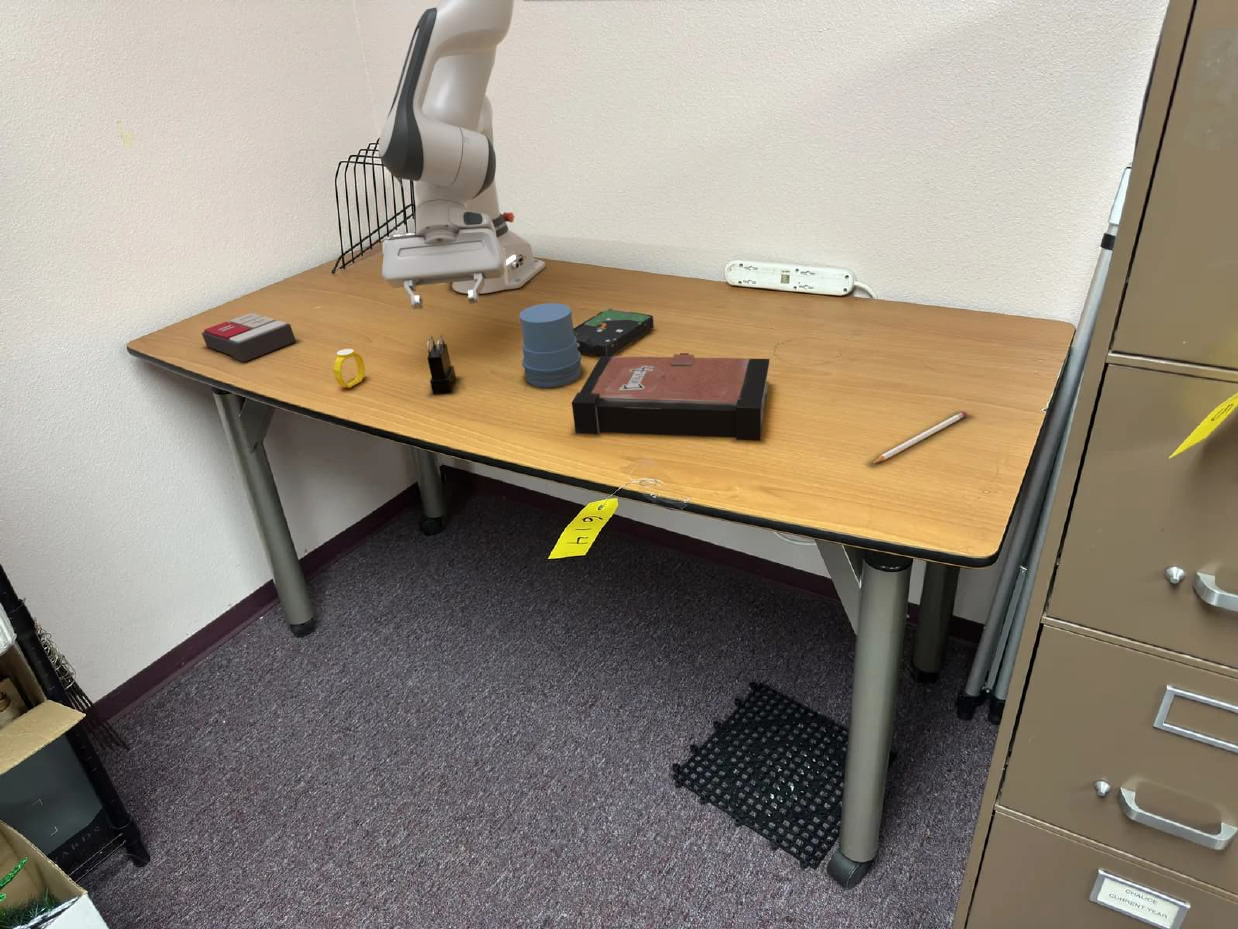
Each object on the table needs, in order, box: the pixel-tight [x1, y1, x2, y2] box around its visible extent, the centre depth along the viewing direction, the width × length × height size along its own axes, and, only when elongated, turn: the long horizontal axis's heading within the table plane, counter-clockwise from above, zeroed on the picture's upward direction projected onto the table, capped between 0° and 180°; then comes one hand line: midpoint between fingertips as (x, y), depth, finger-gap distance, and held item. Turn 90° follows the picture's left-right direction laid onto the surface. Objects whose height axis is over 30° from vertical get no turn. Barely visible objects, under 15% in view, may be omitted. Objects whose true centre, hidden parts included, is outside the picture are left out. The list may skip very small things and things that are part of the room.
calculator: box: [201, 312, 297, 363], centre depth 158 cm, size 11×4×15 cm
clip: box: [426, 333, 457, 395], centre depth 132 cm, size 5×3×8 cm, turn 0°
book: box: [571, 352, 771, 442], centre depth 120 cm, size 26×18×5 cm
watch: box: [333, 348, 366, 389], centre depth 137 cm, size 6×3×6 cm, turn 156°
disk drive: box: [573, 308, 654, 358], centre depth 145 cm, size 10×3×15 cm
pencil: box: [873, 411, 967, 464], centre depth 108 cm, size 1×19×1 cm, turn 125°
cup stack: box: [518, 302, 582, 388], centre depth 132 cm, size 10×10×11 cm
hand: (445, 304), depth 135 cm, fingers open, 8 cm apart
